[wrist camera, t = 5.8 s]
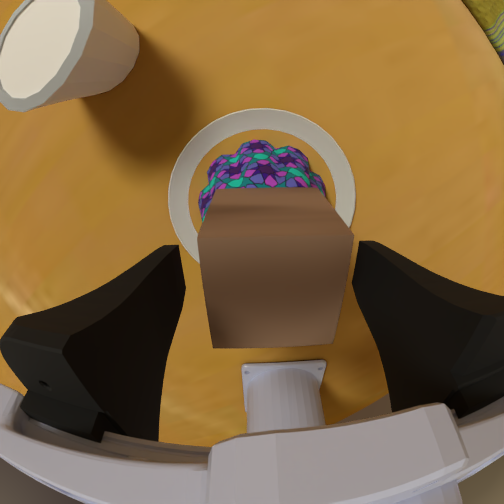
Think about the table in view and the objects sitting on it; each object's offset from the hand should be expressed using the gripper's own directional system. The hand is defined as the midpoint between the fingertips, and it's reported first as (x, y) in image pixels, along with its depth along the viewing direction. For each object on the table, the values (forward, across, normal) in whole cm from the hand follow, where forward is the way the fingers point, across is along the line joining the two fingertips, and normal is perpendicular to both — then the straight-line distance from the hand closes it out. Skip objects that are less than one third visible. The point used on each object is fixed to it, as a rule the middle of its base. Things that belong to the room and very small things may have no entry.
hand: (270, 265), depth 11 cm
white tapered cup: (+8, +10, -11) cm, 17 cm away
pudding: (+8, 0, 0) cm, 8 cm away
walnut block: (+3, 0, 0) cm, 3 cm away
